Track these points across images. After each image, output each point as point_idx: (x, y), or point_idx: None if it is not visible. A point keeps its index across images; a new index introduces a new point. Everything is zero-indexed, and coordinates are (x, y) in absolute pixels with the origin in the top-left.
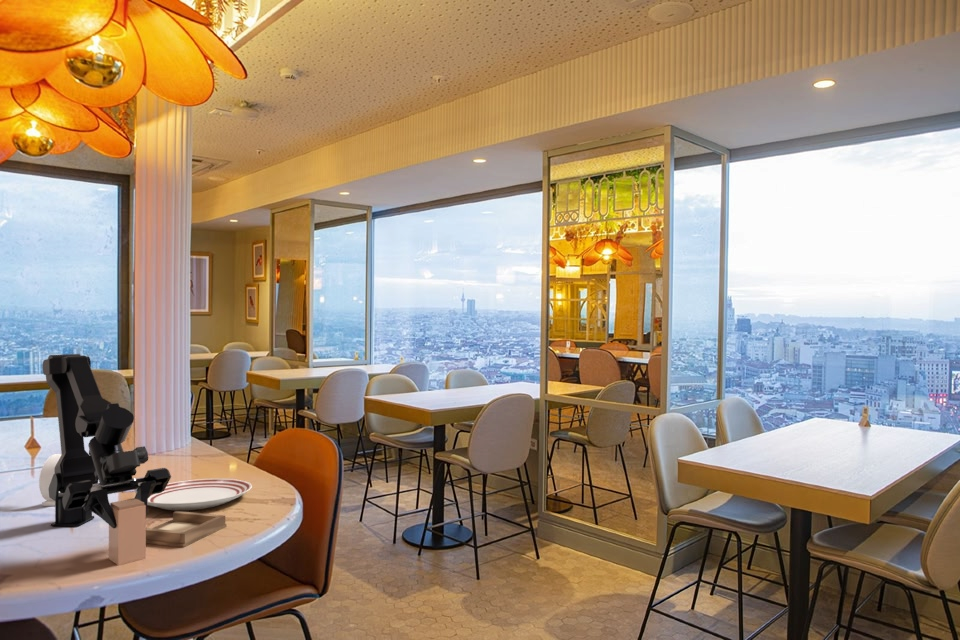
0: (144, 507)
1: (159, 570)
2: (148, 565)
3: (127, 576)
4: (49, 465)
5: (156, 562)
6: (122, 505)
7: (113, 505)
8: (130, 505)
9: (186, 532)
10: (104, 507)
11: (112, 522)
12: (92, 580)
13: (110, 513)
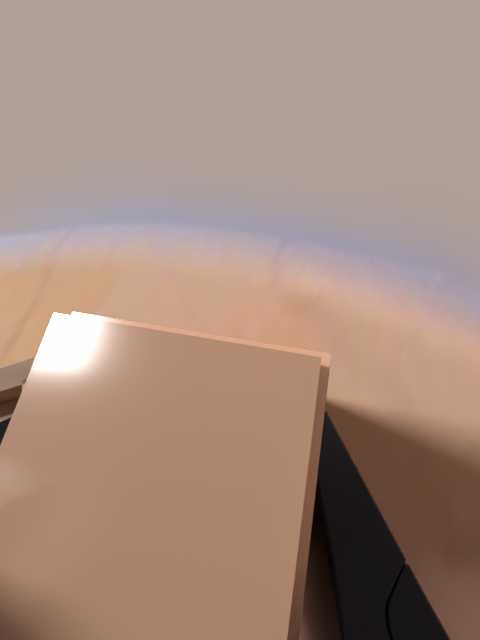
0: (94, 316)
1: (250, 242)
2: (243, 304)
3: (333, 271)
4: None
5: (214, 308)
6: (245, 411)
7: (292, 593)
8: (189, 336)
9: (26, 367)
10: (443, 630)
11: (337, 432)
12: (427, 328)
13: (349, 500)
